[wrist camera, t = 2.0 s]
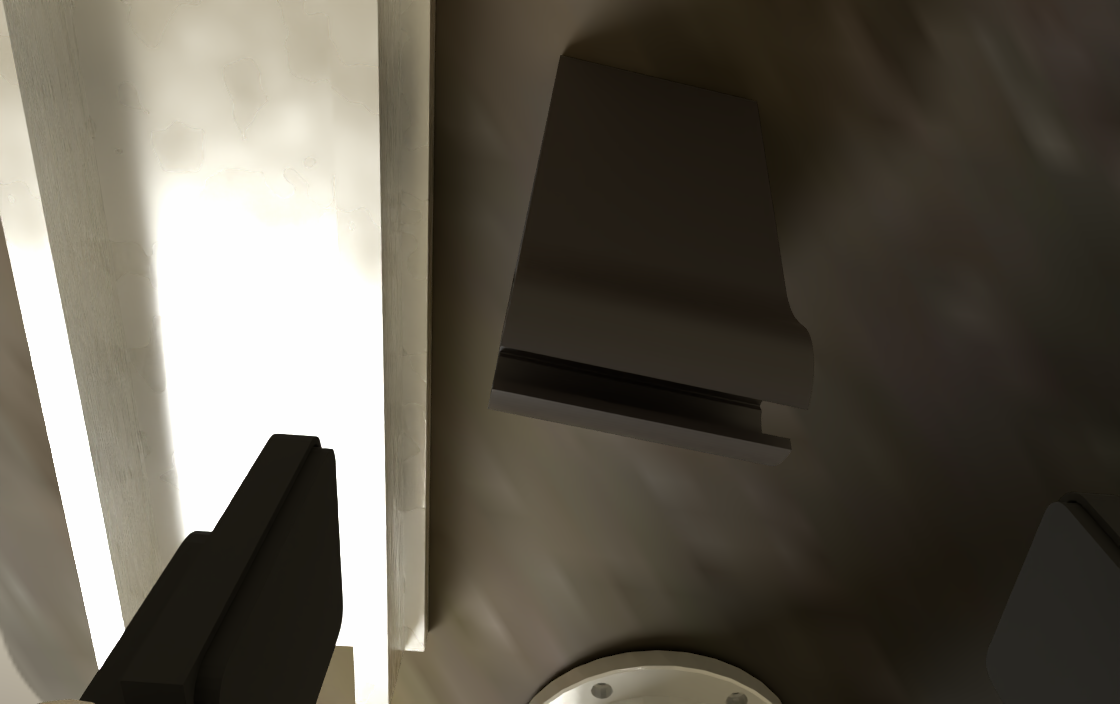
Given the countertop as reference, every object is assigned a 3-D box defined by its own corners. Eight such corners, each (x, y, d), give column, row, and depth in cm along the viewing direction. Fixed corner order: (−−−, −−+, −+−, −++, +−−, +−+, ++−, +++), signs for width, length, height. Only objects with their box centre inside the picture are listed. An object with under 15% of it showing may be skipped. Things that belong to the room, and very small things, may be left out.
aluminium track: (437, -161, 22) (410, -184, 19) (428, 633, 34) (410, 712, 31) (-16, -201, 22) (-132, -231, 18) (134, 611, 34) (81, 689, 30)
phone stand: (561, 52, 25) (547, 127, 14) (756, 100, 25) (892, 208, 14) (501, 325, 28) (454, 553, 17) (672, 362, 29) (728, 607, 18)
